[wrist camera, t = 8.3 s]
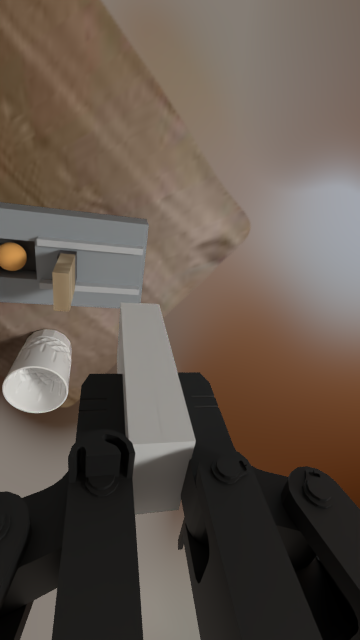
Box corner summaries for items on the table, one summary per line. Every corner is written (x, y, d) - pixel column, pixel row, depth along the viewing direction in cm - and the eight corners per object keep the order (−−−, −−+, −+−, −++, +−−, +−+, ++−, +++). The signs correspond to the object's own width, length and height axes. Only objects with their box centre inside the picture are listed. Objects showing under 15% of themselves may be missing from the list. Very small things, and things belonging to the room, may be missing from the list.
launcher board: (146, 219, 43) (149, 228, 40) (138, 300, 49) (140, 314, 45) (-21, 199, 39) (-36, 207, 35) (-8, 291, 45) (-20, 306, 41)
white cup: (21, 365, 51) (2, 412, 43) (21, 322, 48) (1, 364, 39) (73, 368, 53) (66, 414, 45) (77, 328, 50) (70, 368, 41)
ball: (-13, 241, 39) (4, 249, 38) (14, 237, 42) (31, 244, 40) (-9, 268, 41) (7, 277, 39) (16, 262, 44) (33, 271, 42)
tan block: (76, 248, 41) (68, 273, 33) (76, 280, 43) (69, 311, 35) (59, 246, 40) (48, 272, 33) (60, 279, 42) (49, 310, 35)
